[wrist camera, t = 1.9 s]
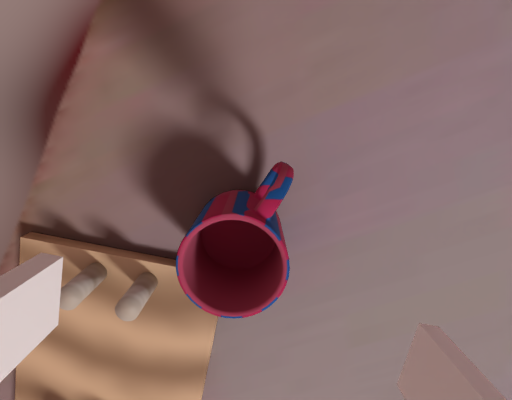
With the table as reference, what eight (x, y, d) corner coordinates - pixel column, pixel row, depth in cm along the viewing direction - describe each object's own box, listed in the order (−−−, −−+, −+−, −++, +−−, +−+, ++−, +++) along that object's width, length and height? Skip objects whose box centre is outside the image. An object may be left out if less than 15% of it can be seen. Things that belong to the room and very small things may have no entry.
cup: (181, 238, 25) (153, 278, 18) (255, 137, 23) (254, 141, 17) (247, 283, 26) (244, 337, 19) (324, 189, 24) (350, 214, 17)
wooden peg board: (31, 231, 25) (-27, 258, 20) (227, 269, 26) (220, 305, 21) (24, 411, 29) (-26, 471, 24) (193, 439, 30) (179, 504, 25)
